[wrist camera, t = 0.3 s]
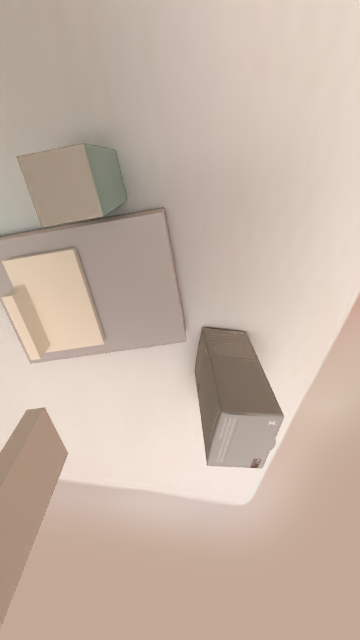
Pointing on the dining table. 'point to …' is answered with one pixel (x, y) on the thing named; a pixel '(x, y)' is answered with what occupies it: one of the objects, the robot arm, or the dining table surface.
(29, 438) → the robot arm
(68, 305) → the shutter
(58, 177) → the green rectangular box
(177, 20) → the dining table surface
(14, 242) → the socket plate
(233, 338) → the skincare box
